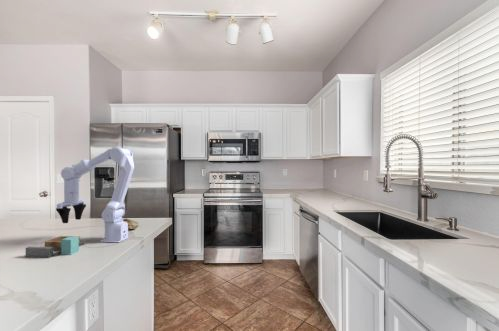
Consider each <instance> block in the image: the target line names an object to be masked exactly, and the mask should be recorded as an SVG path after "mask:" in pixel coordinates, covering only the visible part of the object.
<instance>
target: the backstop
mask: <svg viewBox="0 0 499 331" xmlns="http://www.w3.org/2000/svg"><path fill="white" fill-rule="evenodd" d="M83 245H85V241H80V243H79V247H80V246H83ZM59 255H61V251H60V250H58V251H57V252H54V250H53V247H45V246H28V247H25V258H46V259H47V258H52V257H58V256H59Z"/></svg>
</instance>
